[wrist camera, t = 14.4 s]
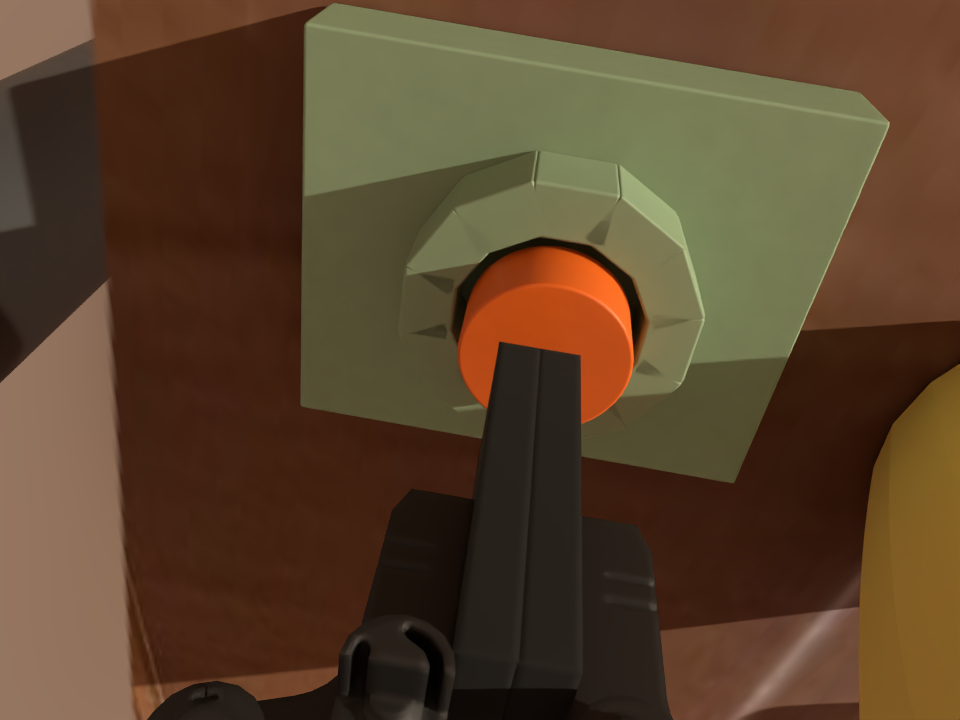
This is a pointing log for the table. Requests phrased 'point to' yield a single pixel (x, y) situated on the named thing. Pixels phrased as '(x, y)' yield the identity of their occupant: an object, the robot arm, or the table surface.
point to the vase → (914, 565)
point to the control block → (564, 220)
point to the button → (550, 321)
